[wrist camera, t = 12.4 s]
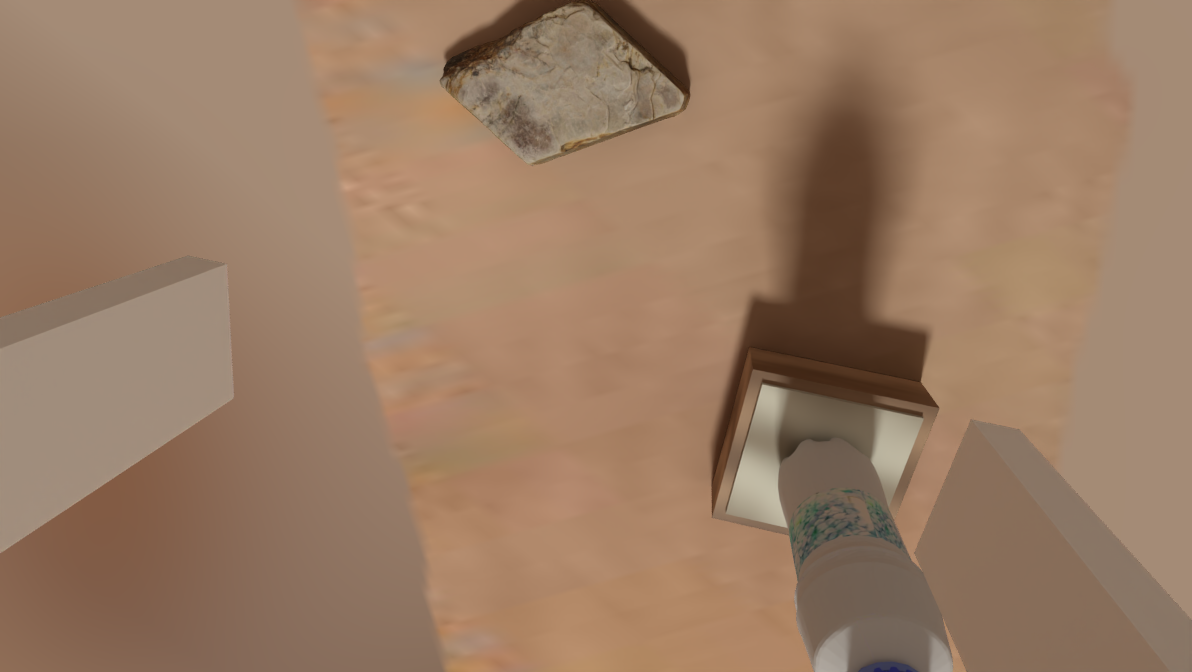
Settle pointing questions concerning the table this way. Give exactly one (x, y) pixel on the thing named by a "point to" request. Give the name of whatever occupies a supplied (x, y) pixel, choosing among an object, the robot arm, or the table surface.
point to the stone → (563, 84)
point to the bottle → (855, 568)
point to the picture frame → (814, 430)
